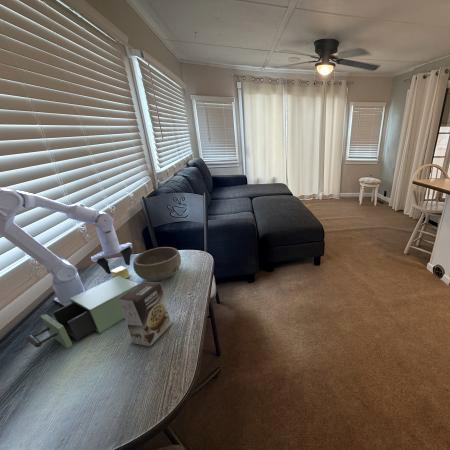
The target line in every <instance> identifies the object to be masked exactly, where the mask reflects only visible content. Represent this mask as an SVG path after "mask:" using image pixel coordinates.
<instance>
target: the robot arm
mask: <svg viewBox="0 0 450 450" xmlns="http://www.w3.org/2000/svg"><path fill="white" fill-rule="evenodd" d="M34 207H38V208H42V209H46V210H50V211H54V212H57V213H58V212H59V213H62V214H65V215H66V217H67V218H68V219H69V220H74V221H78V222H81V223H85V224H92V225H94V229H95V231H96V235H97V239H98V240H99V243H100V246H101V249H102V251H100V252H98V253H97V254H94V255H92V256H90V259H91V262H93V263H97V265H99V266H100V267H101V268H102V269H103V270H104V271H105V273H106V274H108V275H112V274H111V269H110V266H109V260H107V259H106V258H107V257H110V256H112V255H117V254H119V253H120V254H121V255H122V258H123V261H124V264H125V265H126V266H130V265H131V257H132V253H133V249H132V248H133V244H132V243H131V242H127V243H124V244H120V242H119V239H118V236H117V233H116V229H115V227H114V225H113V224H114V222H115V219H114V217H113V216H112V215H111V214H110V213H107V212H104V211H103V210H100V209H98V208H92V207H87V206H86V204H84V203H73V204H69V205H68V204H65V203H62V202H59V201H56V200H53V199H50V198H47V197H44V196H41V195H37V194H34V193H31V192H27V191H21V190H16V189H14V190H12V189H11V188H8V187H2V186H0V236H2V237H3V238H5V239H6V240H7V241H9V242H10V243H12V244H13V245H14V246H16V247H17V248H18V249H20V250H21V251H22V252H24V253H25V254H27V255H28V256H29V257H30V258H32V259H33V260H35V262H37V263H39V264H40V265H42V266H43V268H45V269H46V272H47V273H48V274H50V275H51V276H52V278H51V279H52V280H51V288H52V289H53V291H54V294H55V295H56V297H54V299H53V300H54V301H55V302H57V303H58V304H60V305H62V306H63V307H65V306H67V305H69V304H71V300H70V298H72V297H74V296H76V295H78V294H81V293H83V292H85V291H86V290H85V287H84V284H83V282H82V279H81V277H80V275H79V273H78V268H77V267H76V266H75V265H73V264H72V263H70V262H69V260H67V259H65V258H61V257H58V256H57V255H56V254H55V253H53V252H52V251H51V250H50V249H48V248H47V247H46V246H44V245H43V244H42V243H40V242H39V240H37V239H36V238H34V237H33V236H32V235H30V234H29V233H28V232H27V231H26V230H25V229H23V228H22V227H21V226H19V225H18V224H16V222H15V217H16V214H17V212H19V210H20V209H21V208H25V209H28V208H34Z"/></svg>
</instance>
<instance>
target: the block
mask: <svg viewBox="0 0 450 450" xmlns="http://www.w3.org/2000/svg"><path fill="white" fill-rule="evenodd" d="M110 271H111V274H110V275H111V277H112V279H113V278H115V277H117V276H120V277H123V278H125V279H128V278H130V277H131V276H130V273H129V270H128V268H127V267H125V266H122V265H120V266H118V267H114V268H113V269H110Z"/></svg>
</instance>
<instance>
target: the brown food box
mask: <svg viewBox="0 0 450 450" xmlns="http://www.w3.org/2000/svg"><path fill="white" fill-rule="evenodd" d="M161 283H162V282H157V281H146V280H144V281H142V282H140V283H138V284H139V285H138V286H136V287H135V288H133V289H132V290H131V291H129V292H128V293H126V294H125V295H124V296H122V297H121V298H119V302H120V305H121V308H122V311H123V314H124V317H125V318H124V321H125V322H126V325H127V328H128V333H129V334H130V338H131V341H132V343H133V344H137V345H140V346H147V347H151V346H152V345H153V344H154V343H155V342H156V341H157V340H158V339H159V338H160V337H161V336H162V335H163V334H164V333H165V332H166V331H167V330H168V329H169V328H170V327H171V325H172V322H171V318H170V313H169V310H168V307H167V301H166V299H165V295H164V291H163V288H162V287H163V286H162V284H161Z"/></svg>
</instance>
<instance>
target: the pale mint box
mask: <svg viewBox="0 0 450 450" xmlns="http://www.w3.org/2000/svg"><path fill="white" fill-rule="evenodd" d="M139 284H140V283H137V282H135V281H133V280H130V279H128V278H126V279H125V278H123V277H120V276H117V277H115V278H113V277H112V278H111V279H108V280H106V281H104V282H102V283H100V284H97V285H95V286H94V287H91V288H89V289H87V290H85V292H83V293H81V294H78V295H76V296H74V297H72V298H70V300H71V303H73V302H74V303H76V304H78V305H80V306H81V307H83V308H85V309H87V310H88V311H90V313H91V316H92V318H93V321H94V323H95V325H96V328H97V329H95V330H94V331H95V332H97V333H103V332H105V330H107V329H109V328H110V327H112V326H113V325H115V324H117V323H118V322H120V321H121V320H123V319H125V317H124V314H123V311H122V308H121V305H120V302H119V298H121V297H122V296H124V295H125V294H126V293H128V292H129V291H131V290H132V289H133V288H135V287H136V286H138V285H139Z"/></svg>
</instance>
